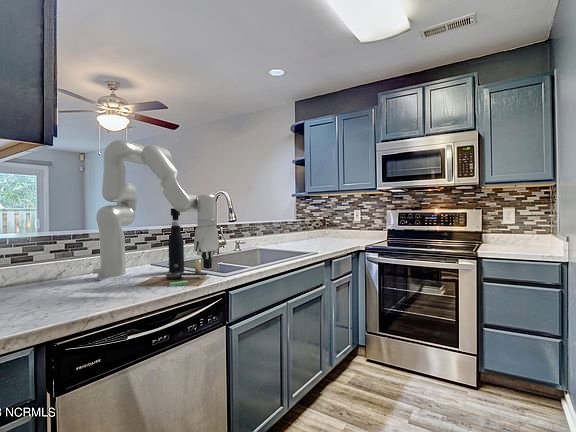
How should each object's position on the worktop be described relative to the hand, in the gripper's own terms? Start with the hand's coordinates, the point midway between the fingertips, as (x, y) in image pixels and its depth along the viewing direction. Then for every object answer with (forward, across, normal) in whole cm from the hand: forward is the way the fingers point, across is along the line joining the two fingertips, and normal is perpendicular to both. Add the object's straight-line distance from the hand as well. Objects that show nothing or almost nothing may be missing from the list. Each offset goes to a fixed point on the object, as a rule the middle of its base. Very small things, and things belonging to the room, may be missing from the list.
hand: (207, 267), depth 133 cm
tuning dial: (+3, +7, -5) cm, 9 cm away
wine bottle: (+5, 0, -19) cm, 20 cm away
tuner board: (+5, +13, -5) cm, 15 cm away
